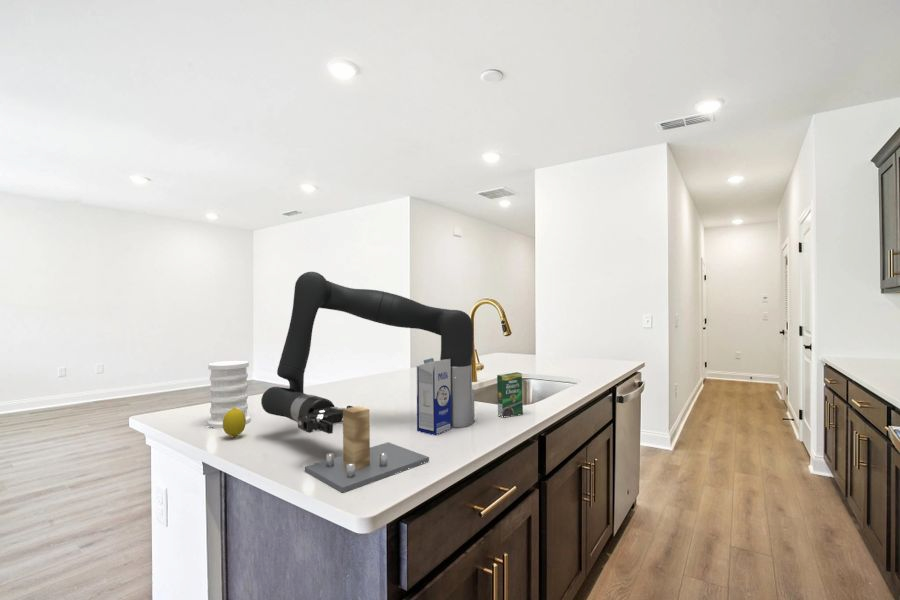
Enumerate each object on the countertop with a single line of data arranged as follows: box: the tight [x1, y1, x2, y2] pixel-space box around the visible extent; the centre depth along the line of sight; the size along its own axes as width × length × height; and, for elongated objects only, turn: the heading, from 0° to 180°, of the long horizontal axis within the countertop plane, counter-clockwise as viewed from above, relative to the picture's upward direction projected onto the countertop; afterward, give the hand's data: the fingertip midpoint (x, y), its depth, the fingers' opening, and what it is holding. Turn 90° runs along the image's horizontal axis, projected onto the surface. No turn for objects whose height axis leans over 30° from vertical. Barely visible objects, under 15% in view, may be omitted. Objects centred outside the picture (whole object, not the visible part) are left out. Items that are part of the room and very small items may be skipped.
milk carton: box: [416, 357, 452, 436], centre depth 121 cm, size 7×7×20 cm
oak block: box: [342, 405, 371, 470], centre depth 92 cm, size 4×4×12 cm
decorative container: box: [206, 360, 252, 429], centre depth 130 cm, size 12×12×18 cm
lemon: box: [223, 408, 247, 439], centre depth 116 cm, size 6×6×8 cm
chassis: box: [304, 442, 430, 494], centre depth 95 cm, size 22×15×4 cm
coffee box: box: [496, 371, 524, 418], centre depth 136 cm, size 8×3×13 cm, turn 118°
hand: (349, 424), depth 94 cm, fingers open, 8 cm apart
